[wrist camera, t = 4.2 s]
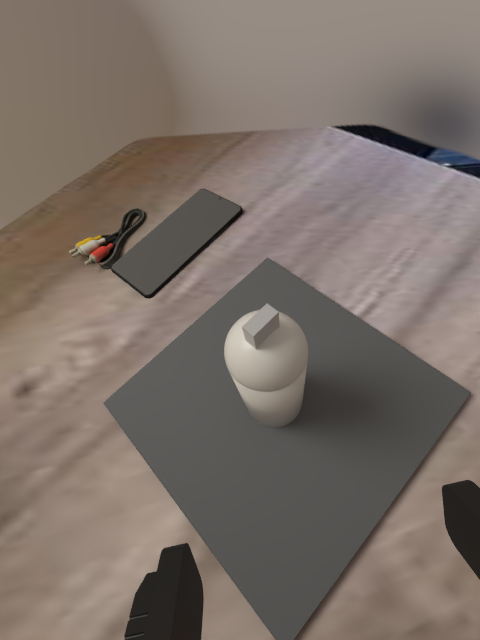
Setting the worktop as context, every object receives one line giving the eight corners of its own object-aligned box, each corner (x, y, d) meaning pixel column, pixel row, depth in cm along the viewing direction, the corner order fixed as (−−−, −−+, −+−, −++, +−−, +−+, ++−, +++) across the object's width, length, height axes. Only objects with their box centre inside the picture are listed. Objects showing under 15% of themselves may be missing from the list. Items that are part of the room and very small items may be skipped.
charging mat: (106, 404, 27) (103, 402, 26) (267, 261, 32) (267, 257, 31) (284, 647, 18) (284, 652, 17) (466, 394, 23) (471, 392, 22)
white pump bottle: (234, 399, 25) (190, 323, 14) (271, 360, 26) (258, 263, 15) (275, 440, 23) (262, 389, 12) (314, 396, 24) (333, 315, 13)
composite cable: (137, 211, 39) (129, 194, 37) (163, 225, 37) (155, 208, 35) (75, 263, 36) (62, 248, 34) (99, 281, 34) (86, 267, 32)
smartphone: (107, 267, 34) (202, 186, 38) (112, 272, 35) (203, 192, 39) (147, 298, 31) (244, 207, 35) (150, 303, 32) (245, 213, 36)
